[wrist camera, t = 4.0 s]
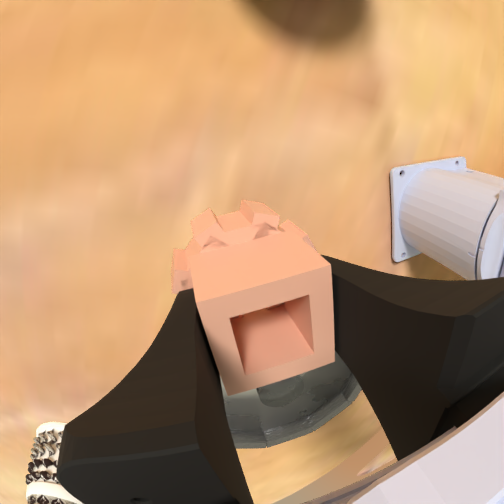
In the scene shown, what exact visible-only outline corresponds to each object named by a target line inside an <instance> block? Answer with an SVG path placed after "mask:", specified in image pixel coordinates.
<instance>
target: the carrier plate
mask: <svg viewBox="0 0 504 504" xmlns="http://www.w3.org/2000/svg"><path fill="white" fill-rule="evenodd" d="M220 378H221V376H220ZM221 385H222V392H223V399H224V405H225V411H226V416H227V420H228V424H229V428H230V431H231V435H232V438H233V441H234V445H235V448H266V446H267V448H268V447H271V446H274V445H277V444H280V443H283V442H286V441H289V440H292V439H295V438H298V437H301V436H303V435H306V434H309V433H311V432H313V431H315V430H317V429H318V428H320V427H321V426H322V425H324V424H325V423H326V422H328V421H329V420H331V419H332V418H333V417H335V416H336V415H337V414H339V413H340V412H341V411H342V410H344V409H345V408H346V407H348V406H349V405H350V404H351V403H352V401H354V400H355V399H356V397H357V396H358V394H359V393H360V391H361V390H362V388H361V387H360V385H359V383H358V381H357V380H356V378H355V377H354V375H353V374H352V372H351V371H350V369H349V368H348V367H347V365H346V364H345V363H344V361H343V360H342V359H341V358H340V356H339V355H338V354H337V352H336V351H335V362H332V363H330V364H327V365H324V366H321V367H319V368H316V369H313V370H310V371H308V372H305V373H302V374H299V375H296V376H293V377H290V378H287V379H284V380H281V381H278V382H275V383H272V384H268V385H265V386H262V387H259V388H255V389H252V390H248V391H245V392H241V393H238V394H234V395H230V396H228V395H227V393H226V390H225V387H224V385H223V382H222V379H221Z"/></svg>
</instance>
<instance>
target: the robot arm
mask: <svg viewBox="0 0 504 504" xmlns="http://www.w3.org/2000/svg"><path fill="white" fill-rule="evenodd" d="M455 163H456V164H455ZM400 172H402V174H401V175H400ZM390 183H391V203H392V259H393V260H394V261H395V262H400V261H403V260H405V259H408V258H411V257H413V256H416V255H418V254H421V253H424V254H425V255H427V256H429V257H430V258H432V259H434V260H435V261H437V262H439V263H440V264H442V265H444V266H445V267H447V268H449V269H450V270H452V271H454V272H455V273H457V274H458V275H460V276H462V277H463V278H465V279H466V280H465V281H442V280H427V279H418V278H411V277H404V276H398V275H393V274H388V273H384V272H380V271H376V270H372V269H368V268H365V267H361V266H358V265H355V264H351V263H348V262H345V261H342V260H338V259H335V258H332V257H328V256H324V255H321V256H322V257H323V258H324V259H325V260H326V261H328V262H329V263H330V264H331V272H332V289H333V311H334V344H335V351H336V352H337V354H338V355H339V356H340V358H341V359H342V360H343V361H344V363H345V364H346V365H347V367H348V368H349V369H350V371H351V372H352V374H353V375H354V377H355V378H356V380H357V381H358V383H359V385H360V387H361V388H362V390H363V392H364V393H365V395H366V397H367V399H368V401H369V402H370V404H371V406H372V408H373V410H374V412H375V414H376V415H377V417H378V419H379V421H380V423H381V425H382V427H383V429H384V431H385V433H386V436H387V438H388V440H389V442H390V444H391V446H392V449H393V451H394V453H395V456H396V458H397V460H398V462H396V463H394V464H392V465H390V466H388V467H387V468H385V469H383V470H381V471H379V472H377V473H375V474H373V475H371V476H368V477H366V478H364V479H362V480H360V481H358V482H356V483H353V484H351V485H349V486H347V487H344V488H342V489H339V490H337V491H335V492H332V493H329V494H327V495H324V496H322V497H319V498H316V499H313V500H311V501H308V502H305V503H302V504H504V178H500V177H497V176H494V175H490V174H487V173H483V172H479V171H476V170H472V169H468V168H466V159H465V158H464V157H461V156H460V157H454V158H447V159H441V160H435V161H429V162H423V163H417V164H411V165H405V166H400V167H394V168H392V170H391V171H390ZM402 253H403V255H402ZM401 255H402V256H401ZM56 477H57V479H58V481H59V483H60V484H61V486H62V487H63V488H64V489H65V490H66V491H67V492H69V493H70V494H71V495H72V496H73V497H75V498H76V499H78V500H79V501H80V502H82V503H83V504H254V503H253V500H252V497H251V494H250V492H249V489H248V486H247V483H246V480H245V477H244V474H243V471H242V468H241V464H240V461H239V458H238V455H237V451H236V448H235V445H234V441H233V438H232V435H231V431H230V428H229V424H228V420H227V416H226V411H225V405H224V399H223V392H222V385H221V378H220V373H219V371H218V368H217V365H216V362H215V359H214V356H213V353H212V351H211V348H210V345H209V342H208V339H207V336H206V333H205V330H204V327H203V324H202V320H201V317H200V314H199V311H198V308H197V305H196V301H195V295H194V289H193V288H190V289H187V290H183V291H179V293H178V294H177V296H176V299H175V301H174V303H173V306H172V308H171V310H170V312H169V314H168V316H167V318H166V320H165V322H164V324H163V326H162V328H161V330H160V331H159V333H158V335H157V336H156V338H155V340H154V341H153V343H152V345H151V346H150V348H149V349H148V350H147V352H146V353H145V354H144V356H143V357H142V358H141V360H140V361H139V362H138V363H137V365H136V366H135V367H134V368H133V369H132V370H131V371H130V372H129V373H128V374H127V375H126V376H125V378H124V379H123V380H122V381H121V382H120V383H119V384H118V385H117V386H116V387H115V388H114V389H112V390H111V391H110V392H109V393H108V394H107V395H106V396H104V397H103V398H102V399H101V400H100V401H99V402H97V403H96V404H95V405H93V406H92V407H91V408H89V409H88V410H87V411H85V412H84V413H82V414H81V415H79V416H78V417H77V418H75V419H74V420H72V421H71V422H69V423H68V424H66V425H65V427H64V430H63V435H62V439H61V445H60V451H59V457H58V463H57V472H56Z"/></svg>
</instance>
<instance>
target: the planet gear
mask: <svg viewBox="0 0 504 504" xmlns="http://www.w3.org/2000/svg"><path fill="white" fill-rule="evenodd" d="M279 219H280V216H279V215H278V214H276V213H275V212H274V211H273V210H272V209H270V208H269V207H268V206H267V205H265V204H264V203H260V202H253V201H247V200H242V201H241V206H240V211H236V212H232V213H228V214H224V215H220V216H215V214H214V213H213V211H212V210H211V209H210V207H209V208H208V209H207V210H205V211H204V212H202V213H201V214H200V215H198V216H197V217H196V218H194V219H193V220H191V226H192V231H193V238H192V239H191V241H190V243H189V244H188V246H187V247H186V249H185V250H183V249H174V251H173V259H172V267H171V281H172V293H174V294H178V293H179V291H183V290H187V289H190V288H193V289H194V295H195V301H196V305H197V308H198V311H199V314H200V317H201V320H202V324H203V327H204V330H205V333H206V336H207V339H208V342H209V345H210V348H211V351H212V353H213V356H214V359H215V362H216V365H217V368H218V371H219V373H220V376H221V379H222V382H223V385H224V387H225V390H226V393H227V395H228V396H230V395H234V394H238V393H241V392H245V391H248V390H252V389H255V388H259V387H262V386H265V385H268V384H272V383H275V382H278V381H281V380H284V379H287V378H290V377H293V376H296V375H299V374H302V373H305V372H308V371H310V370H313V369H316V368H319V367H321V366H324V365H327V364H330V363H332V362H335V344H334V311H333V289H332V272H331V264H330V263H329V262H328V261H326V260H325V259H324V258H323V257H322V256H321V255H320V254H319V253H318V252H317V250H316V249H315V247H314V245H313V243H312V242H311V240H310V238H309V236H308V235H307V234H306V233H305V232H303V231H302V230H301V229H300V228H298V227H297V226H296V225H295V224H293V223H292V222H291V221H290V220H287V221H285V222H284V223H282V224H281V225H278V223H279Z"/></svg>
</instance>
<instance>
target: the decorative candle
mask: <svg viewBox="0 0 504 504" xmlns="http://www.w3.org/2000/svg"><path fill="white" fill-rule="evenodd" d="M66 424H68V423H63V422H53V421H52V422H47V423H42V424H41V425H40V426H39V427H38V428H37V430H36V436H37V437H35V438H34V441H35V442H36V443H34V444H33V447H34V448H32V449H31V452H32V453H33V454H31V456H30V457H31V459H32V460H33V462H30V463H29V464H28V466H29V468H28V471H29V473H30V474H27V475H26V484H27V492H26V498H27V501H28V504H83V503H82V502H80V501H79V500H78V499H76V498H75V497H73V496H72V495H71V494H70V493H69V492H67V491H66V490H65V489H64V488H63V487H62V486H61V484H60V483H59V481H58V479H57V477H56V472H57V463H58V457H59V451H60V445H61V439H62V435H63V430H64V427H65V425H66Z"/></svg>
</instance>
